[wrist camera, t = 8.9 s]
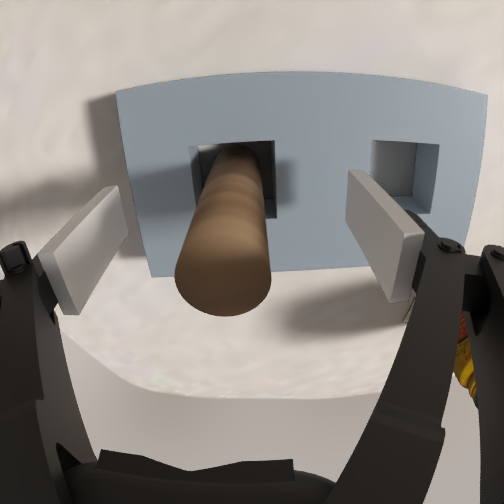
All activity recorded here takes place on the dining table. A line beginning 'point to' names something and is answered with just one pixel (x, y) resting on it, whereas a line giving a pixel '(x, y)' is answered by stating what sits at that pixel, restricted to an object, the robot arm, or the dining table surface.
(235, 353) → the dining table surface
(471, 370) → the condiment
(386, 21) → the dining table surface
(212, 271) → the peg
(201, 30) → the dining table surface
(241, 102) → the hole block
